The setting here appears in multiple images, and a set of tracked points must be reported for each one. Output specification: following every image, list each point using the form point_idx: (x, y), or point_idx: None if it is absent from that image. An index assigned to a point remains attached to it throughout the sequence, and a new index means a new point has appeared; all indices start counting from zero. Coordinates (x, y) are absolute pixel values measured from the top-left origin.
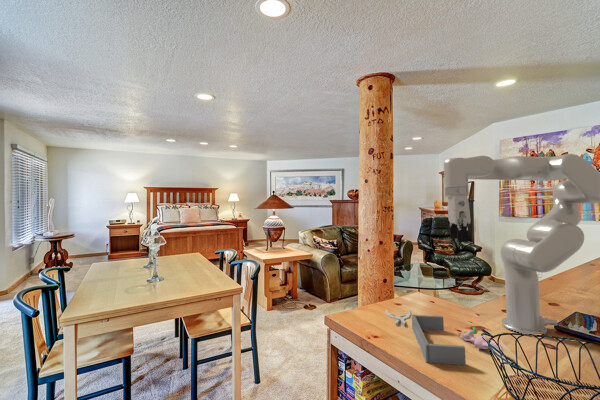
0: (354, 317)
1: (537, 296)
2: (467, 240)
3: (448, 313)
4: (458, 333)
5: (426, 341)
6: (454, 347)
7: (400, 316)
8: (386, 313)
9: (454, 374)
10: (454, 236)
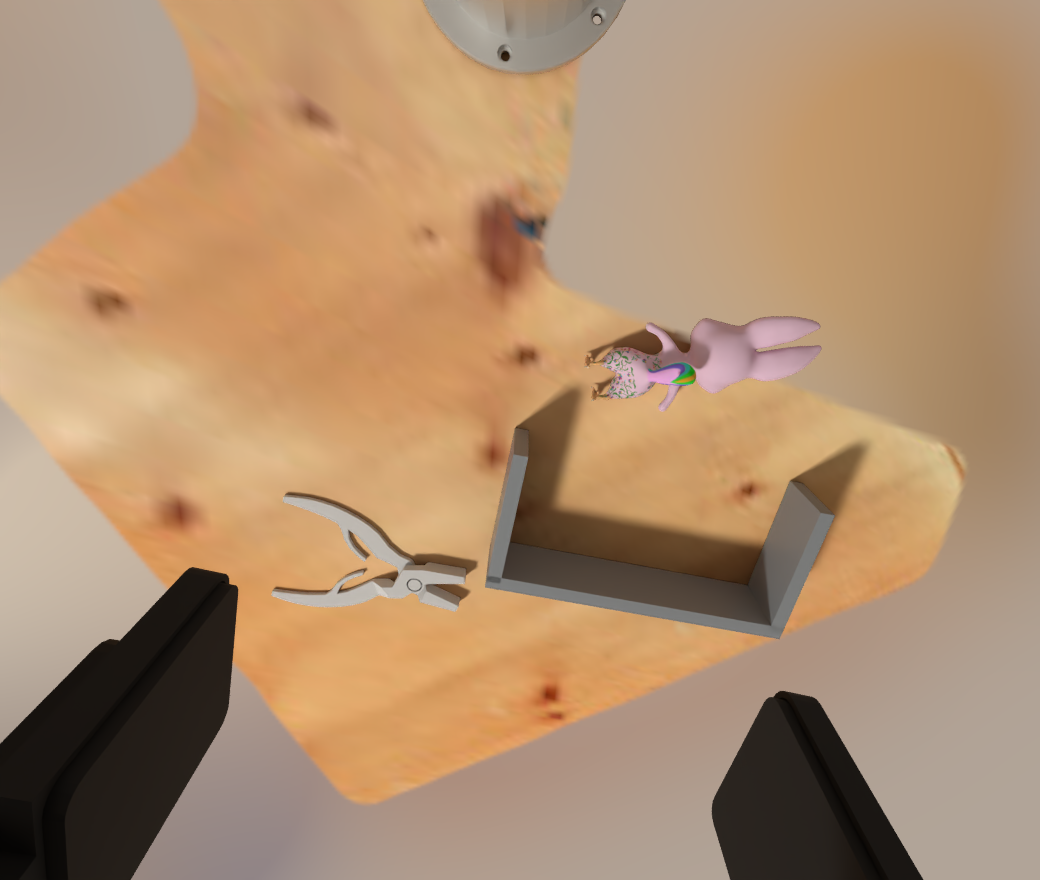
0: (368, 729)
1: None
2: (816, 726)
3: (305, 297)
4: (593, 399)
5: (752, 625)
6: (817, 548)
7: (364, 560)
8: (325, 606)
9: (840, 544)
10: (216, 686)
